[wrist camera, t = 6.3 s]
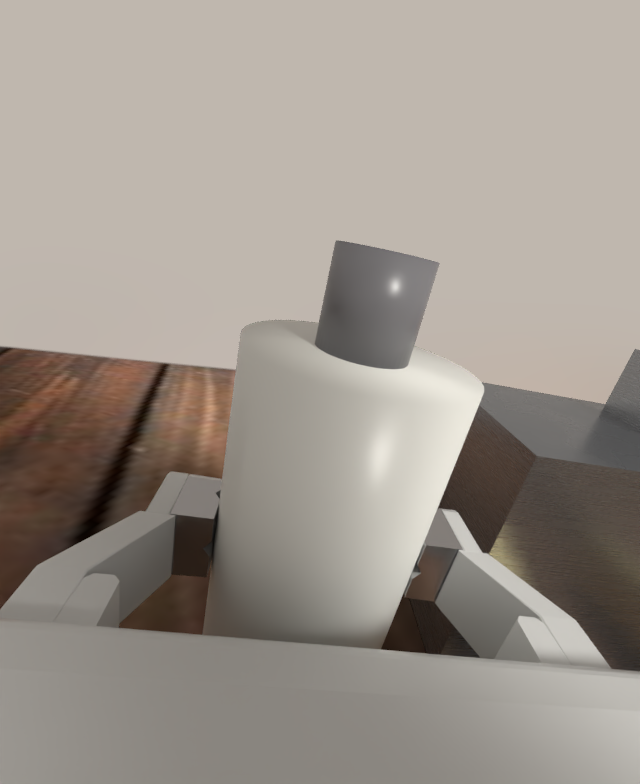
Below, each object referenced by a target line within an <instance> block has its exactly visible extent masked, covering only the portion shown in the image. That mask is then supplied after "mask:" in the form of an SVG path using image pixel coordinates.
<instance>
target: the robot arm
mask: <svg viewBox="0 0 640 784" xmlns="http://www.w3.org/2000/svg"><path fill="white" fill-rule="evenodd" d="M221 485H222V479H219V478H213V477H206V476H200V475H194V474H187V473H180V472H173V471H171V472H169V473H168V474H167V476H166V477H165V479H164V481H163V482H162V484H161V486H160V487H159V489H158V491H157V493H156V494H155V496H154V498H153V499H152V501H151V503H150V504H149V506H148V508H147V510H146V511H138V512H136V513H134V514H132V515H131V516H129V517H127V518H125V519H123V520H121V521H119V522H117V523H115V524H114V525H112V526H110V527H108V528H106V529H104V530H102V531H100V532H99V533H97V534H95V535H93V536H91V537H89V538H87V539H85V540H83V541H82V542H80V543H78V544H76V545H74V546H72V547H70V548H68V549H66V550H65V551H63V552H61V553H59V554H57V555H55V556H53V557H51V558H50V559H48V560H46V561H44V562H42V563H40V564H38V565H37V566H36V567H35V568H34V569H33V571H32V572H31V573H30V574H29V575H28V577H27V578H26V579H25V580H24V581H23V583H22V584H21V585H20V586H19V587H18V589H17V590H16V591H15V592H14V593H13V595H12V596H11V597H10V598H9V599H8V601H7V602H6V603H5V604H4V605H3V607H2V608H1V609H0V784H640V671H631V670H619V669H611V667H610V666H609V665H608V663H607V662H606V660H605V659H604V658H603V656H602V655H601V654H600V652H599V651H598V650H597V648H596V647H595V646H594V644H593V643H592V641H591V640H590V639H589V637H588V636H587V635H586V633H585V632H584V631H583V629H582V628H581V627H580V625H579V624H578V623H577V621H576V620H575V619H573V618H572V617H571V616H569V615H568V614H567V613H565V612H564V611H563V610H561V609H560V608H559V607H558V606H556V605H555V604H554V603H552V602H551V601H550V600H548V599H547V598H546V597H544V596H543V595H542V594H540V593H539V592H538V591H536V590H535V589H534V588H532V587H531V586H530V585H528V584H527V583H526V582H525V581H523V580H522V579H521V578H519V577H518V576H517V575H515V574H514V573H513V572H511V571H510V570H509V569H507V568H506V567H505V566H503V565H502V564H501V563H499V562H498V561H497V560H495V559H494V558H493V557H491V556H490V555H489V554H487V553H482V551H481V550H480V548H479V546H478V545H477V543H476V541H475V540H474V538H473V536H472V535H471V533H470V531H469V530H468V528H467V526H466V525H465V523H464V522H463V520H462V518H461V517H460V515H459V513H458V512H456V511H455V510H449V509H440V508H438V509H437V511H436V514H435V516H434V519H433V521H432V523H431V526H430V528H429V531H428V533H427V536H426V538H425V541H424V543H423V546H422V548H421V551H420V553H419V556H418V558H417V561H416V563H415V566H414V568H413V571H412V573H411V576H410V578H409V581H408V583H407V586H406V588H405V591H404V596H405V598H412V599H419V600H427V601H434V602H435V604H436V605H437V606H438V608H439V609H440V610H441V611H442V612H443V614H444V615H445V616H446V617H447V618H448V619H449V621H450V622H451V623H452V624H453V625H454V627H455V628H456V629H457V630H458V631H459V633H460V634H461V635H462V636H463V637H464V639H465V640H466V641H467V642H468V643H469V645H470V646H471V647H472V648H473V649H474V651H475V652H476V653H477V654H478V655H479V657H480V658H475V657H463V656H451V655H439V654H428V653H416V652H404V651H392V650H380V649H368V648H356V647H344V646H332V645H320V644H308V643H296V642H284V641H272V640H259V639H247V638H235V637H223V636H211V635H199V634H187V633H175V632H163V631H151V630H139V629H127V628H119V624H120V623H121V622H122V621H123V620H124V619H125V618H126V617H127V616H128V615H129V614H130V613H132V612H133V611H134V610H135V609H136V608H137V607H138V606H139V605H140V604H141V603H143V602H144V601H145V600H146V599H147V598H148V597H149V596H150V595H151V594H152V593H153V592H155V591H156V590H157V589H158V588H159V587H160V586H161V585H162V584H163V583H164V582H166V581H167V580H168V579H169V578H170V577H171V574H172V575H186V576H199V577H207V574H208V571H209V567H210V564H211V560H212V556H213V548H214V540H215V532H216V525H217V517H218V509H219V500H220V492H221Z"/></svg>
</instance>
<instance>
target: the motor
mask: <svg viewBox="0 0 640 784" xmlns="http://www.w3.org/2000/svg"><path fill="white" fill-rule="evenodd" d="M482 384H483V386H484V394H483V396H482V399H481V401H480V404H479V406H478V409H477V411H476V414H475V416H474V419H473V421H472V424H471V426H470V429H469V431H468V434H467V436H466V439H465V441H464V444H463V446H462V449H461V451H460V454H459V456H458V459H457V461H456V464H455V466H454V469H453V471H452V474H451V476H450V479H449V481H448V484H447V486H446V489H445V491H444V494H443V496H442V499H441V501H440V504H439V506H438V508H440V509H449V510H455V511H456V512H458V513H459V515H460V517H461V518H462V520H463V522H464V523H465V525H466V526H467V528H468V530H469V531H470V533H471V535H472V536H473V538H474V540H475V541H476V543H477V545H478V546H479V548H480V550H481V551H482V553H487V554H489V555H490V556H491V557H493V558H494V559H495V560H497V561H498V562H499V563H501V564H502V565H503V566H505V567H506V568H507V569H509V570H510V571H511V572H513V573H514V574H515V575H517V576H518V577H519V578H521V579H522V580H523V581H525V582H526V583H527V584H528V585H530V586H531V587H532V588H534V589H535V590H536V591H538V592H539V593H540V594H542V595H543V596H544V597H546V598H547V599H548V600H550V601H551V602H552V603H554V604H555V605H556V606H558V607H559V608H560V609H561V610H563V611H564V612H565V613H567V614H568V615H569V616H571V617H572V618H573V619H575V620H576V621H577V623H578V624H579V625H580V627H581V628H582V629H583V631H584V632H585V633H586V635H587V636H588V637H589V639H590V640H591V641H592V643H593V644H594V646H595V647H596V648H597V650H598V651H599V652H600V654H601V655H602V656H603V658H604V659H605V660H606V662H607V663H608V665H609V666H610V667H611V669H619V670H631V671H640V350H637V349H635V350H634V352H633V354H632V356H631V358H630V360H629V361H628V363H627V365H626V367H625V369H624V371H623V373H622V374H621V376H620V378H619V380H618V382H617V384H616V386H615V387H614V389H613V391H612V393H611V395H610V397H609V399H608V400H607V402H606V404H600V403H595V402H589V401H583V400H578V399H572V398H566V397H561V396H555V395H550V394H544V393H538V392H532V391H527V390H522V389H515V388H510V387H505V386H499V385H493V384H488V383H482ZM410 602H411V605H412V608H413V611H414V614H415V618H416V621H417V624H418V627H419V630H420V634H421V637H422V640H423V643H424V646H425V650H426V653H428V654H439V655H451V656H463V657H475V658H480V657H479V655H478V654H477V653H476V652H475V651H474V649H473V648H472V647H471V646H470V645H469V643H468V642H467V641H466V640H465V639H464V637H463V636H462V635H461V634H460V633H459V631H458V630H457V629H456V628H455V627H454V625H453V624H452V623H451V622H450V621H449V619H448V618H447V617H446V616H445V615H444V614H443V612H442V611H441V610H440V609H439V608H438V606H437V605H436V604H435V602H434V601H427V600H419V599H412V598H410Z"/></svg>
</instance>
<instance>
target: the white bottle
mask: <svg viewBox="0 0 640 784" xmlns="http://www.w3.org/2000/svg"><path fill="white" fill-rule="evenodd" d="M438 267H439V263H438V262H434V261H431V260H427V259H424V258H419V257H415V256H411V255H407V254H402V253H398V252H394V251H389V250H385V249H380V248H375V247H370V246H365V245H360V244H355V243H349V242H344V241H336V242H335V247H334V251H333V256H332V261H331V266H330V271H329V276H328V281H327V286H326V291H325V295H324V300H323V305H322V310H321V315H320V320H319V323H315V322H306V321H293V320H271V321H261V322H256V323H252V324H249V325H247V326H246V327H244V328H243V329H242V331H241V335H240V342H239V350H238V358H237V366H236V374H235V382H234V390H233V398H232V406H231V413H230V421H229V429H228V437H227V445H226V453H225V461H224V469H223V477H222V485H221V492H220V500H219V509H218V517H217V525H216V532H215V540H214V548H213V556H212V563H211V571H210V579H209V587H208V595H207V603H206V611H205V619H204V627H203V634H202V635H211V636H223V637H235V638H247V639H259V640H272V641H284V642H296V643H308V644H320V645H332V646H344V647H356V648H368V649H380V650H381V648H382V646H383V643H384V641H385V638H386V636H387V633H388V631H389V628H390V626H391V623H392V621H393V618H394V616H395V613H396V611H397V608H398V606H399V603H400V601H401V598H402V596H403V593H404V591H405V588H406V586H407V583H408V581H409V578H410V576H411V573H412V571H413V568H414V566H415V563H416V561H417V558H418V556H419V553H420V551H421V548H422V546H423V543H424V541H425V538H426V536H427V533H428V531H429V528H430V526H431V523H432V521H433V519H434V516H435V514H436V511H437V509H438V506H439V504H440V501H441V499H442V496H443V494H444V491H445V489H446V486H447V484H448V481H449V479H450V476H451V474H452V471H453V469H454V466H455V464H456V461H457V459H458V456H459V454H460V451H461V449H462V446H463V444H464V441H465V439H466V436H467V434H468V431H469V429H470V426H471V424H472V421H473V419H474V416H475V414H476V411H477V409H478V406H479V404H480V401H481V399H482V396H483V394H484V386H483V384H482V382H481V381H480V380H479V379H478V378H477V377H476V376H474V375H473V374H472V373H471V372H469V371H468V370H466V369H465V368H463V367H461V366H459V365H458V364H456V363H454V362H452V361H450V360H448V359H446V358H444V357H441V356H439V355H437V354H435V353H432V352H429V351H427V350H425V349H422V348H419V347H416V346H414V344H415V341H416V338H417V335H418V331H419V328H420V325H421V322H422V319H423V315H424V312H425V309H426V306H427V302H428V299H429V296H430V293H431V289H432V286H433V283H434V280H435V276H436V273H437V270H438Z"/></svg>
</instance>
